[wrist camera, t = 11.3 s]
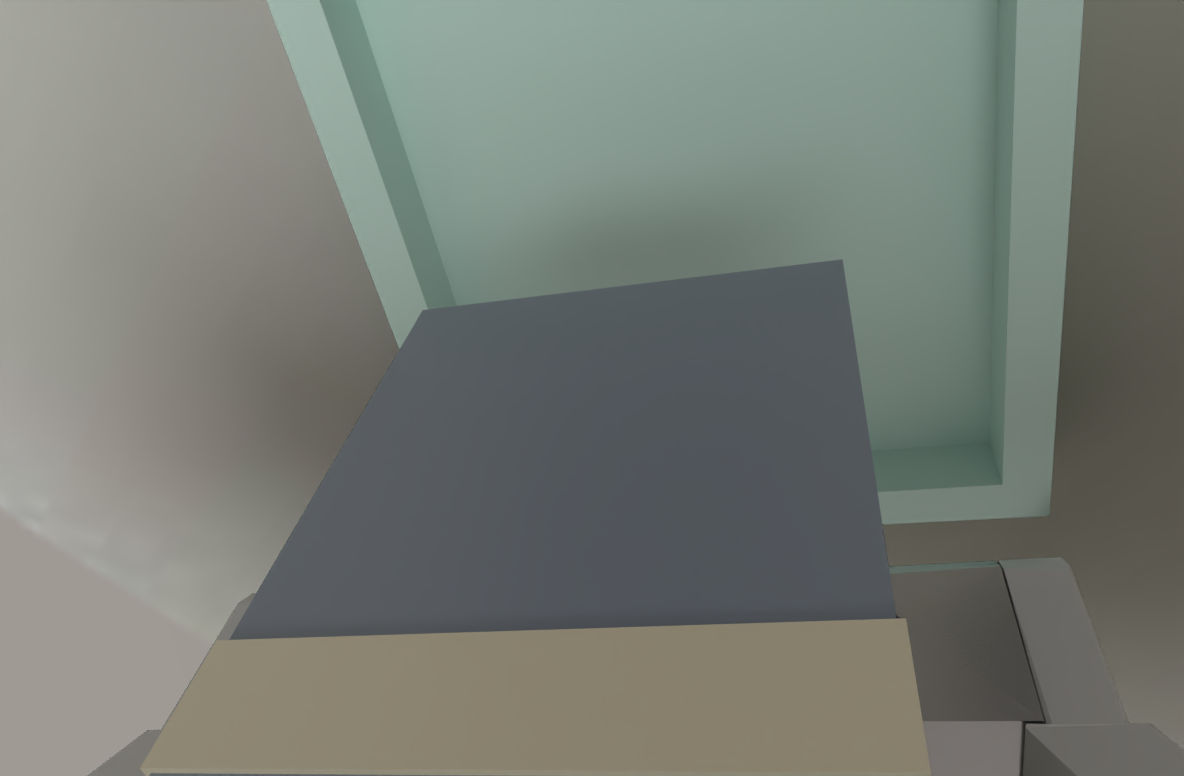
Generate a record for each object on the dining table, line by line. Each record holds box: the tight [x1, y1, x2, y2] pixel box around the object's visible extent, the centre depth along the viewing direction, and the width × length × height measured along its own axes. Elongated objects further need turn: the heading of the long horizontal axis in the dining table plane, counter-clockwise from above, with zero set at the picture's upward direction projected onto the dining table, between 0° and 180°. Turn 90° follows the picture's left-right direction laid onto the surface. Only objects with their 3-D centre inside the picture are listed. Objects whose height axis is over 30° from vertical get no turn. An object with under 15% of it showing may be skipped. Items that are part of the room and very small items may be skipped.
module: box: [140, 259, 931, 776], centre depth 8 cm, size 5×5×8 cm
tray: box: [267, 0, 1084, 525], centre depth 16 cm, size 11×12×2 cm
